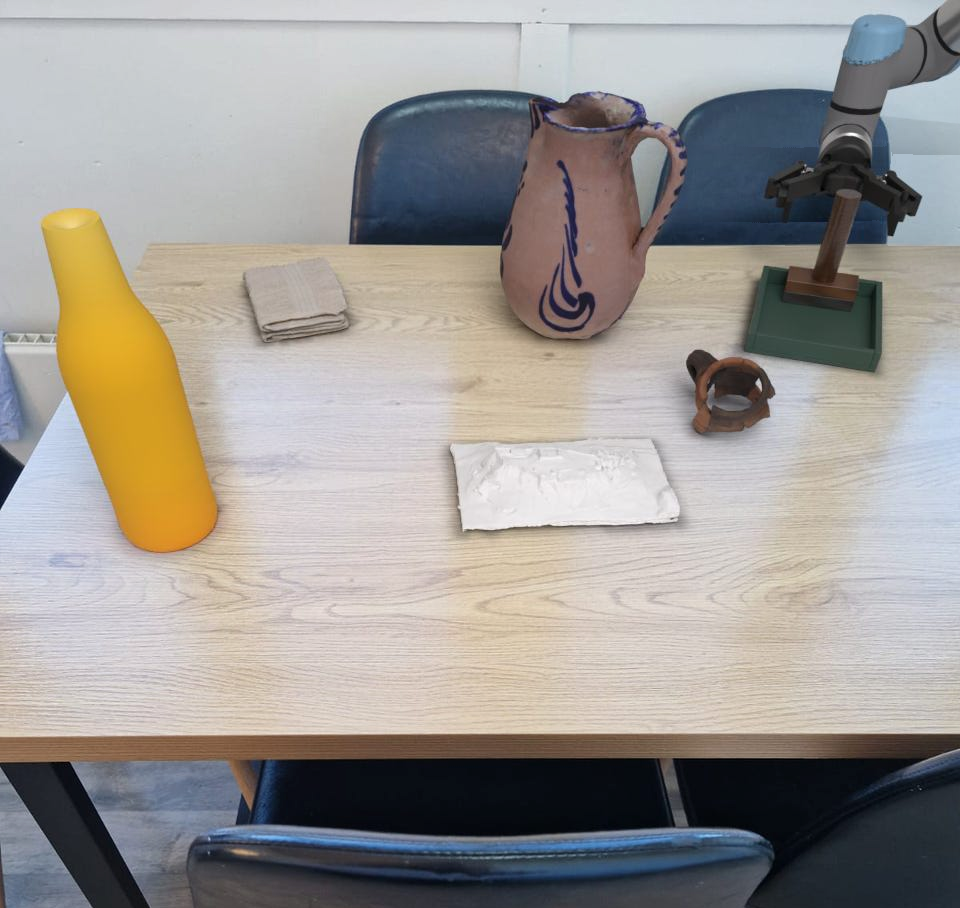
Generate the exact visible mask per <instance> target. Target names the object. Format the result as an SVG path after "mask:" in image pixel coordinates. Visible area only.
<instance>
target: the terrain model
mask: <svg viewBox="0 0 960 908" xmlns="http://www.w3.org/2000/svg"><path fill="white" fill-rule="evenodd" d="M449 451H450V452H451V455H452V457H453V463H454V467H455V468H454V471H455V476H456V481H457V482H456V485H457V493H456V494H457V496H458V505H457V509H459V511H460V519H461V520H460V521H461V532H462V533H465V532H466V531H468V530H476V529H477V530H484V531H495V530H503V529H509V528H514V527H515V528H525V527H529V528H530V527H534V528H535V527H542V526H548V525H550V526H552V527H553V526H554V527H558V526H559V527H563V526H564V527H566V526H600V525H601V526H622V525H623V526H624V525H641V524H645V523H649V524H660V523H661V524H665V523H673V522H674V523H675V522H676V523H677V521H678V520H679V518H678V517H679V516H680V514H681V506H680V503H679V499H678V496H677V494H676V493H675V491H674V489H673V488H672V486H670V484H669V481H668V479H667V477H668V476H667V475H666V472H665V471H664V469H663V466H664V465H663V464H662V461H661V457H660V455H659V454H658V450H657V449H656V447H655V445H654V443H653V441H652V439H651V438H625V437H623V438H618V437H615V438H606V437H604V436H600V437H597V438H590V437H588V439H582V440H581V439H580V440H574V441H553V442H521V443H500V442H499V441H485V442H478V443H477V442H476V443H455V442H452V444H450V447H449Z"/></svg>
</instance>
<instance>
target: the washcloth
mask: <svg viewBox="0 0 960 908" xmlns="http://www.w3.org/2000/svg"><path fill="white" fill-rule="evenodd" d="M242 281H244V285H245V289H246V292H247V293H248V297H249V299H250V303H251V308H252V309H253V314H254V317H255V319H256V323H257V326H258V328H259V333H260V337H261V339H262V340H263V342H265V343H270V342H277V341H282V340H286V339H293V338H301V337H308V336H313V335H314V336H315V335H319V334H325V333H330V332H336V331H340V330H344V329H347V328H349V325H350V324H349V323H350V322H349V318H348V315H347V312H346V310H348V308H349V306H348V304H347V301H346V299H345V295H344V289H343V287H342V286H341V285H340V282H339V281H338V279H337V276H336V273H335V272H334V271H333V270H332V268H331V266H330V263H329V261H328V259H327V258H325V257H316V258H308V259H301V260H299V261H297V262H292V263H287V264H283V265H278V264H276V265H269V266H267V265H266V266H260V267H255V268H250V269H244V270H243V272H242Z"/></svg>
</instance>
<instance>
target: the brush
mask: <svg viewBox="0 0 960 908" xmlns="http://www.w3.org/2000/svg"><path fill="white" fill-rule="evenodd" d="M861 196H862V195H861V193H859V192H858V191H855V190H851V189H841V190H838V191H837V192H836V195H835V198H833V202H832V206H831V210H830V212H829V215H828V219H827V223H826V226H825V229H824V232H823V235H822V239H821V243H820V246H819V250H818V253H817V256H816V260H815V263H814V266H813V268H810V267H809V268H808V267H801V266H794V265H789V267H788V269H789V270H788V274H787V277H786V281H785V285H784V289H783V294H782V300H781V302H785V303H792V304H799V305H806V306H812V307H819V308H826V309H833V310H840V311H846V312H851V310H852V307H853V304H854V301H855V299H856V296H857V293H858V285H859V279H860V275H859V274H852V273H845V272H839V269H840V265H841V262H842V259H843V255H844V253H845V250H846V246H847V244H848V241H849V236H850V234H851V231H852V228H853V224H854V221H855V217H856V214H857V211H858V209H859V205H860V202H861V201H860V199H861Z"/></svg>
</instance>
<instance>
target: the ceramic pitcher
mask: <svg viewBox="0 0 960 908" xmlns="http://www.w3.org/2000/svg"><path fill="white" fill-rule="evenodd" d="M528 109H529V116H530V117H529V118H530V135H529V141H528V147H527V150H526V151H527V152H526V155H525V160H524V163H523V167H522V169H521V173H520V176H519V181H518V183H517V187H516V191H515V193H514V197H513V200H512V203H511V206H510V210H509V213H508V216H507V221H506V225H505V227H504V231H503V232H504V233H503V237H502V241H501V248H500V256H499V275H500V281H501V286H502V287H501V288H502V290H503V292H504V295H505V298H506V300H507V302H508V304H509V306H510V308H511V310H512V312H513V313H514V314H515V315H516V317H517V318H518V319H519V320H520V321H521V322H522V323H524V325H526V326H527V327H528V328H529V329H531V330H533V331H534V332H536V333H537V334H539V335H541V336H543V337H545V338H549V339H553V340H554V339H555V340H556V339H571V340H575V339H578V340H588V339H590V338H591V337H592V336H597V335H599V334H600V333H602V332H604V331H606V330H608V328H610V327H611V326H613V325H614V324H616V322H618V321H619V320H621V319H622V317H623V315H624V314H625V313H626V312H627V310H629V308H630V306H631V305H632V303H633V301H634V299H635V296H636V294H637V292H638V289H639V288H640V284H641V282H642V280H643V278H644V277H645V273H646V262H647V261H646V260H647V254H648V251H649V249H650V247H651V246H652V244H653V241H654V239H655V238H656V236H657V235H658V234H659V232H660V230H661V229H662V228H663V225H664V223H665V222H666V221H667V219H668V217H669V215H670V212H671V211H672V210H673V207H674V205H675V203H676V202H677V199H678V197H679V195H680V193H681V190H682V188H683V184H684V182H685V176H686V175H685V174H686V169H687V165H688V154H687V148H686V146H685V143H684V142H683V139H682V138H681V136H680V135H679V133H678V132H677V130H676V129H675V128H673V127H672V126H671V125H668V124H664V123H663V122H659V121H651V120H648V119H647V112H646V109H645V106H644V105H643V103H640V102H638V101H637V100H635V99H631V98H628V97H625V96H621V95H617V94H615V93H610V92H603V91H600V90H598V91H585V92H582V93H581V92H577V93H573V94H572V95H570V96H569V98H568V100H566V101H564V102H561V101H560V102H558V101H556V100H554V99H552V98H550V97H544V96H537V97H531V99H530V100H529V101H528ZM647 139H655V140H658V141H659V142H660V143H662V145H663V146H664V147H665V148H666V149H667V153H668V155H669V160H670V172H669V175H668V179H667V183H666V187H665V189H664V192H663V194H662V196H661V198H660V200H659V203H658V205H657V206H656V208H655V209H654V211H653V212H652V214H651V216H650V217H649V218H648V220H647V222H646V223H645V225H644V226H643V225H642V215H641V208H640V203H639V196H638V191H637V185H636V184H637V183H636V178H635V173H634V167H633V166H634V165H633V160H632V156H634V153H635V151H636V149H637V147H638V145H639V144H640V143H641V142H643V141H645V140H647Z"/></svg>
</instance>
